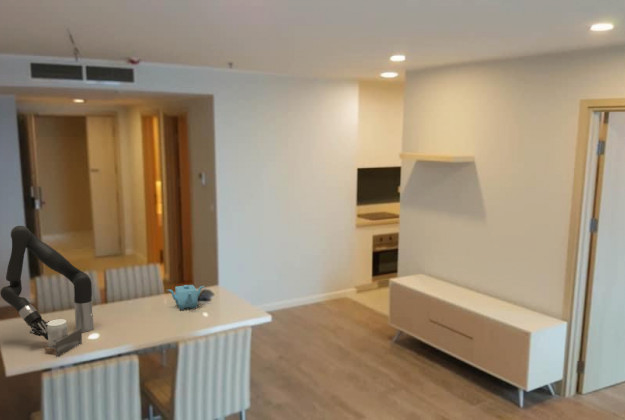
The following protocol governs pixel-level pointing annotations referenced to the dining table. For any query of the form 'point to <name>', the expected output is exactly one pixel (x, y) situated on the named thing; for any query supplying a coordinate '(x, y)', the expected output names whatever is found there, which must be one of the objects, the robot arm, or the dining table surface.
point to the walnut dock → (66, 343)
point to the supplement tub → (56, 331)
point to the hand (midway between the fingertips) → (50, 339)
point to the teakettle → (186, 296)
